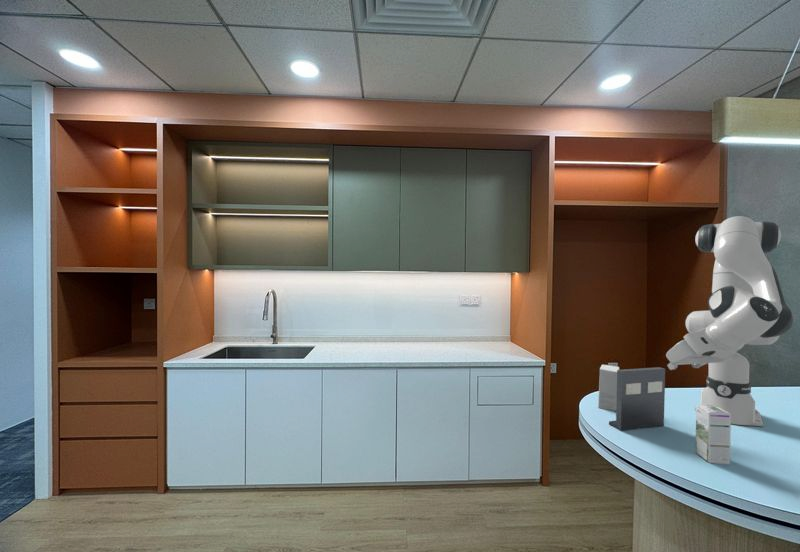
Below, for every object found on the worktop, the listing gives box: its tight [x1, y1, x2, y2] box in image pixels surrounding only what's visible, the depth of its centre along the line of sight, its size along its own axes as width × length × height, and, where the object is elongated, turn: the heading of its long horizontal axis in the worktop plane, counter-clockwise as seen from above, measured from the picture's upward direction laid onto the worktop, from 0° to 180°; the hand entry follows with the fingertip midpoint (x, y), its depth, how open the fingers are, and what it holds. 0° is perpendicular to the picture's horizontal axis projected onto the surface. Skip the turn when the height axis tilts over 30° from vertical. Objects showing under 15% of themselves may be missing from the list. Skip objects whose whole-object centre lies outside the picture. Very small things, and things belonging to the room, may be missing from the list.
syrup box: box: [695, 404, 732, 466], centre depth 102 cm, size 6×6×14 cm
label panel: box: [608, 366, 666, 432], centre depth 124 cm, size 18×5×20 cm, turn 103°
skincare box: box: [597, 364, 620, 412], centre depth 141 cm, size 8×7×16 cm
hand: (682, 366), depth 113 cm, fingers open, 8 cm apart
